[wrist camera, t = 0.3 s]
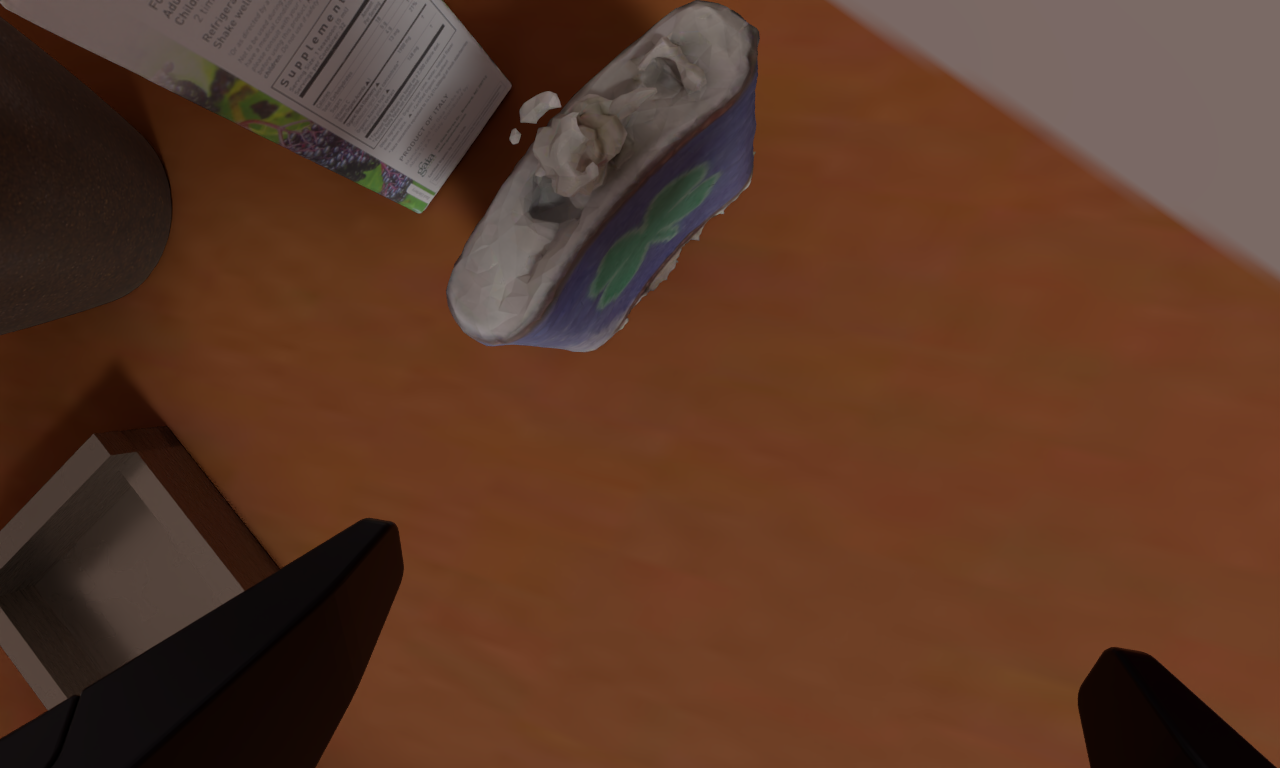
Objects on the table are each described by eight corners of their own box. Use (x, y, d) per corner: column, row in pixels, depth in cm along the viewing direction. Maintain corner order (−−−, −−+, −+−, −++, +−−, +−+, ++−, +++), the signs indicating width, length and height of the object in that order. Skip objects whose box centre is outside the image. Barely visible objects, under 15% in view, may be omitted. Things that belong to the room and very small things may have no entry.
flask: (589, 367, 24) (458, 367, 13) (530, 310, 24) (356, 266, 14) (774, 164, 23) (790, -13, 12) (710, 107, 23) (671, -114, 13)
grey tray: (316, 616, 26) (259, 648, 23) (155, 763, 27) (83, 811, 24) (166, 426, 27) (93, 433, 24) (18, 577, 28) (-69, 602, 25)
